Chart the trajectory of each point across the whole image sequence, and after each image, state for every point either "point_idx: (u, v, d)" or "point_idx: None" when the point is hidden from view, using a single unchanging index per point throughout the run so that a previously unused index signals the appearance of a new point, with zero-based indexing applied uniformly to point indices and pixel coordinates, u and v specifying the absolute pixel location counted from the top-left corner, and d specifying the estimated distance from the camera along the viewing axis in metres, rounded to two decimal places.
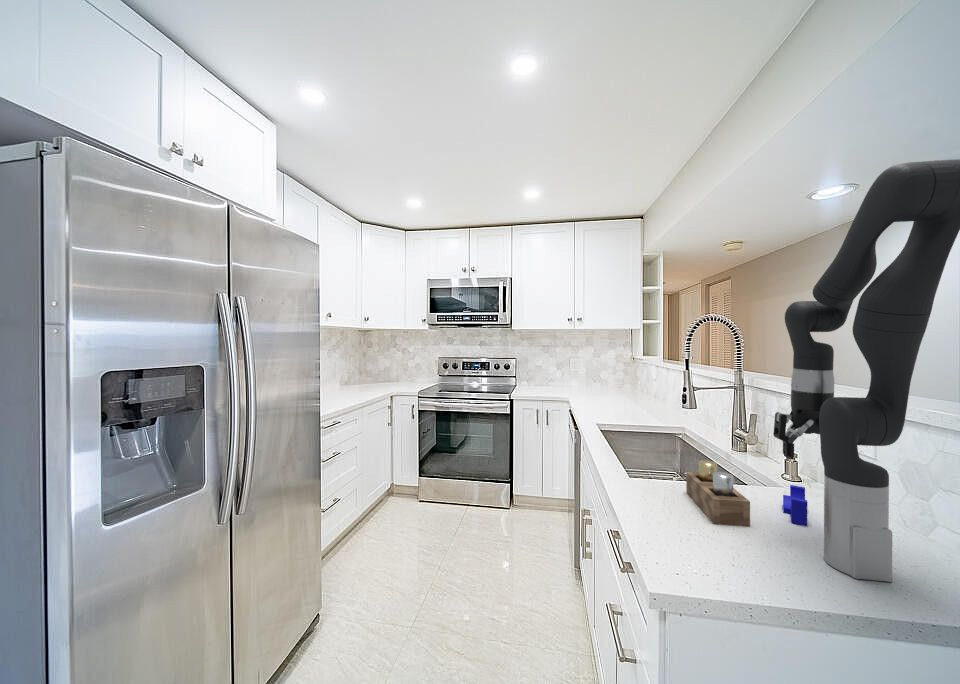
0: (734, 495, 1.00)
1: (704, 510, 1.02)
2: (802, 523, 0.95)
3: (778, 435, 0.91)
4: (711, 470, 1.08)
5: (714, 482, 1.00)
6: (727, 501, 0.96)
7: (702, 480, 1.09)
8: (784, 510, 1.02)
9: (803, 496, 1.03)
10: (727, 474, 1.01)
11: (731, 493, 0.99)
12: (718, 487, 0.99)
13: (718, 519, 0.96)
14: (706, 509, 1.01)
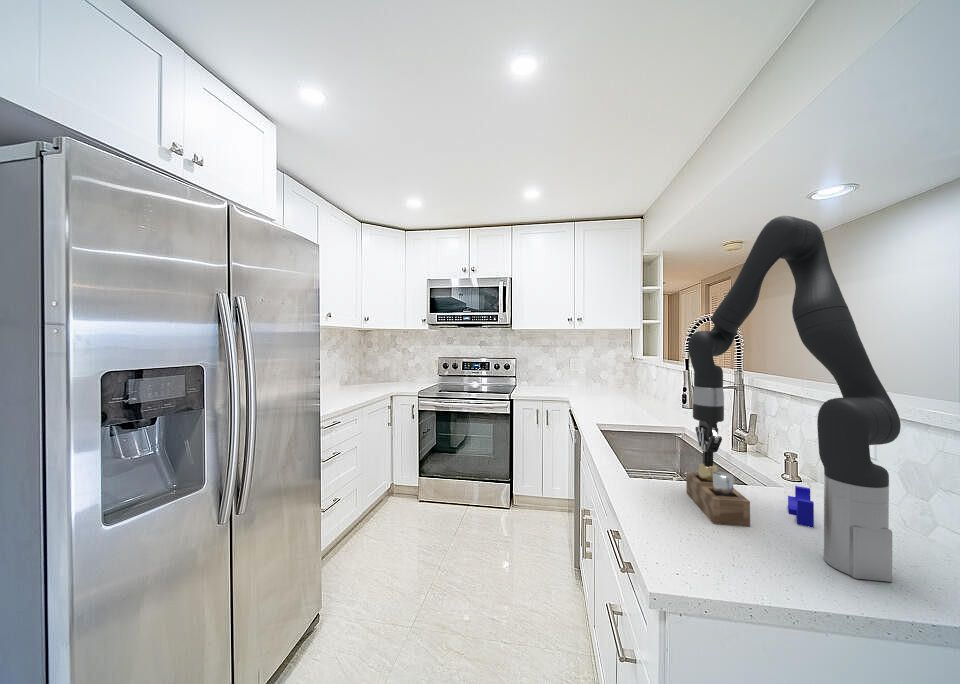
0: (734, 495, 1.00)
1: (704, 510, 1.02)
2: (808, 524, 0.95)
3: (715, 449, 1.07)
4: (711, 473, 1.08)
5: (714, 482, 1.00)
6: (727, 501, 0.96)
7: None
8: (789, 511, 1.02)
9: (808, 497, 1.03)
10: (727, 474, 1.01)
11: (731, 493, 0.99)
12: (718, 487, 0.99)
13: (718, 519, 0.96)
14: (706, 509, 1.01)
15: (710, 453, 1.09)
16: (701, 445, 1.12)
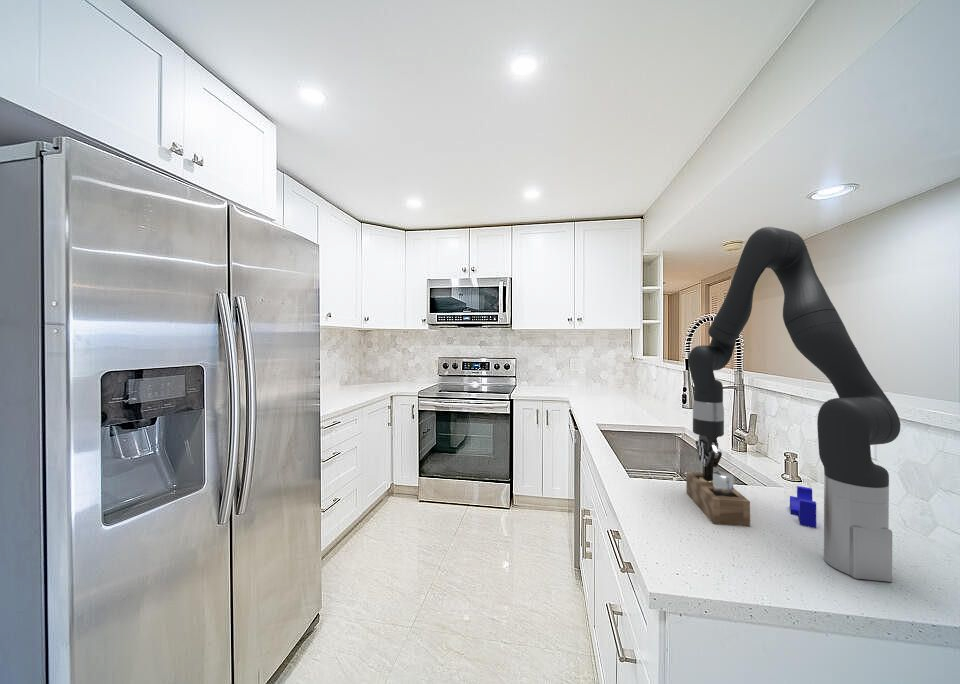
0: (734, 495, 1.00)
1: (704, 510, 1.02)
2: (811, 525, 0.95)
3: (715, 463, 1.07)
4: None
5: (714, 482, 1.00)
6: (727, 501, 0.96)
7: None
8: (792, 511, 1.02)
9: (810, 497, 1.02)
10: (727, 474, 1.01)
11: (731, 493, 0.99)
12: (718, 487, 0.99)
13: (718, 519, 0.96)
14: (706, 509, 1.01)
15: (710, 468, 1.09)
16: (701, 459, 1.12)
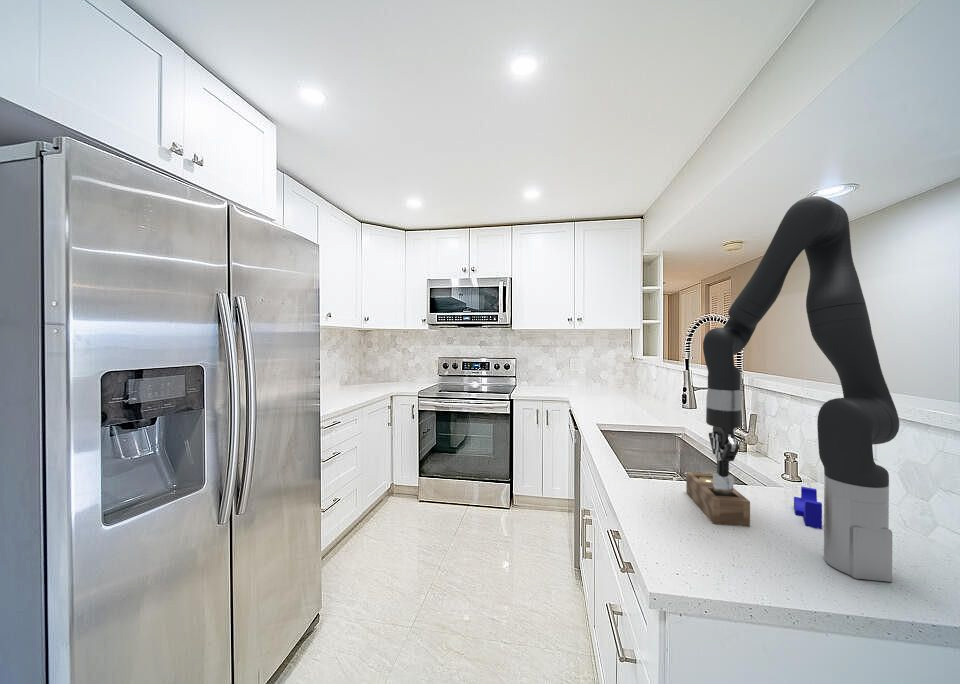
0: (734, 495, 1.00)
1: (704, 510, 1.02)
2: (816, 526, 0.94)
3: (732, 457, 0.97)
4: None
5: (714, 483, 1.00)
6: (727, 501, 0.96)
7: None
8: (796, 512, 1.01)
9: (815, 498, 1.02)
10: None
11: (731, 494, 0.99)
12: (718, 487, 0.99)
13: (718, 519, 0.96)
14: (706, 509, 1.01)
15: (725, 462, 0.99)
16: (715, 453, 1.02)
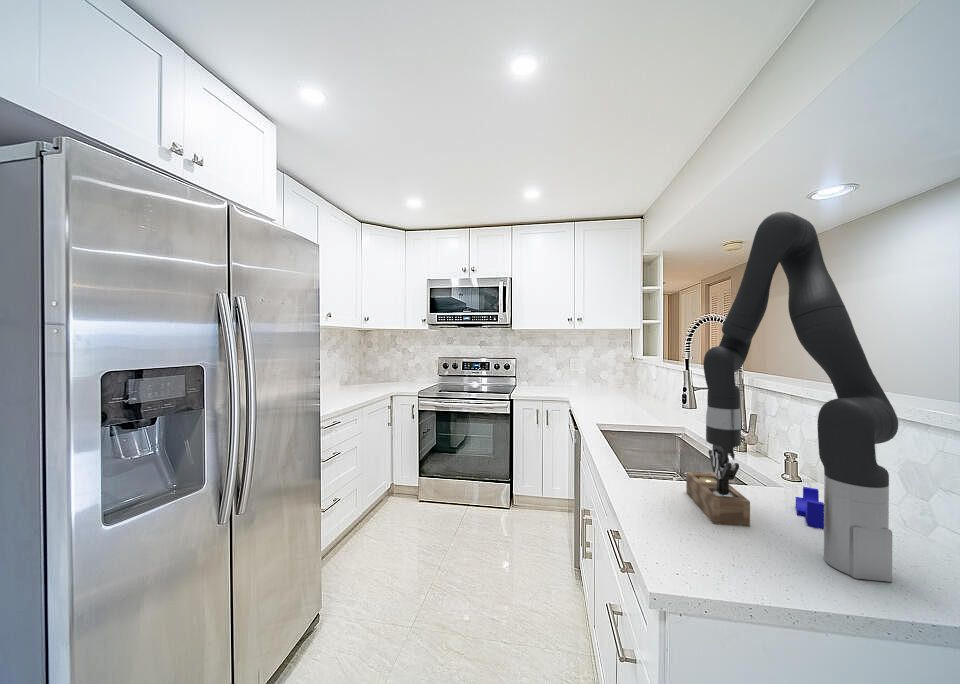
0: (734, 495, 1.00)
1: (704, 510, 1.02)
2: (818, 526, 0.94)
3: (731, 476, 0.97)
4: None
5: None
6: (727, 501, 0.96)
7: None
8: (798, 512, 1.01)
9: (817, 498, 1.02)
10: None
11: None
12: None
13: (718, 519, 0.96)
14: (706, 509, 1.01)
15: (725, 480, 0.99)
16: (715, 471, 1.02)
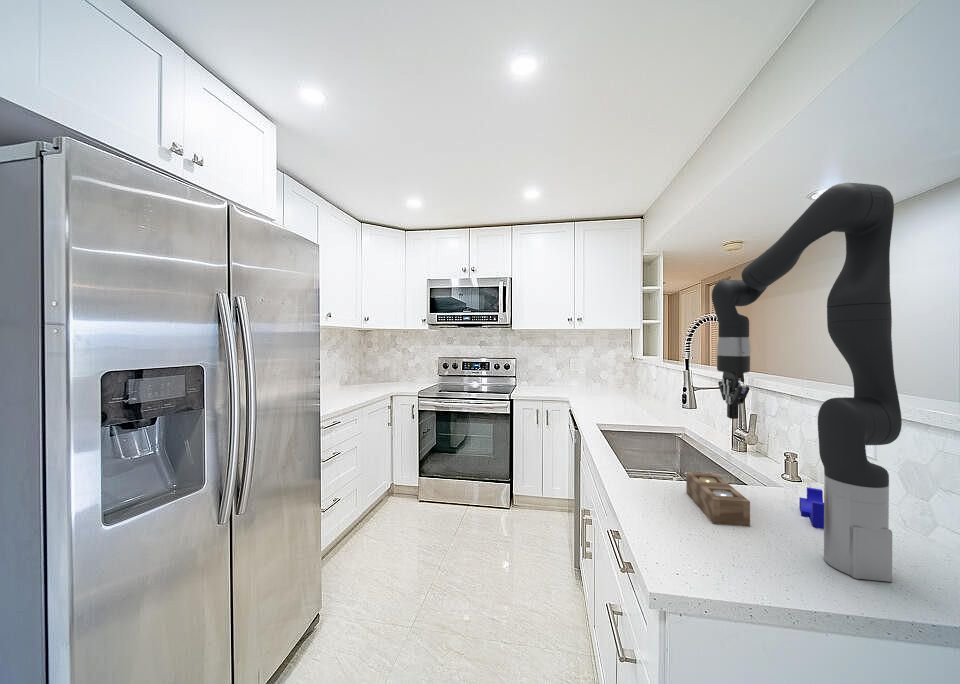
0: (734, 495, 1.00)
1: (704, 510, 1.02)
2: None
3: (741, 400, 1.04)
4: None
5: None
6: (727, 501, 0.96)
7: None
8: (803, 513, 1.00)
9: (821, 499, 1.02)
10: (727, 492, 1.01)
11: None
12: None
13: (718, 519, 0.96)
14: (706, 509, 1.01)
15: (735, 405, 1.06)
16: (725, 398, 1.09)
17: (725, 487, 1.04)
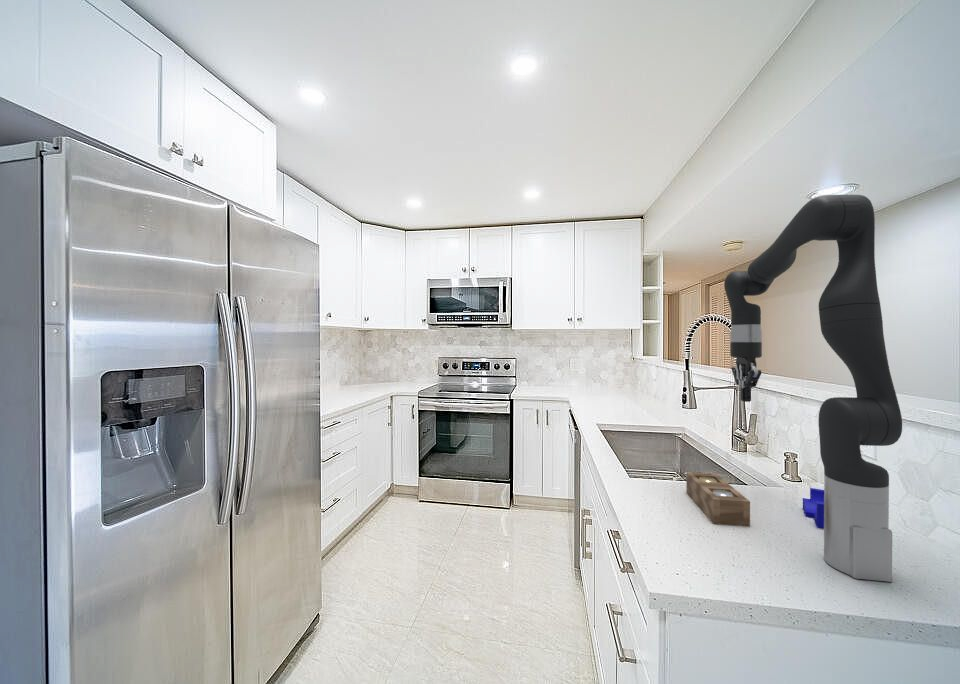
0: (734, 495, 1.00)
1: (704, 510, 1.02)
2: None
3: (754, 383, 1.11)
4: None
5: None
6: (727, 501, 0.96)
7: None
8: (806, 514, 1.00)
9: None
10: (727, 492, 1.01)
11: None
12: None
13: (718, 519, 0.96)
14: (706, 509, 1.01)
15: (748, 389, 1.12)
16: (738, 383, 1.15)
17: (725, 487, 1.04)
